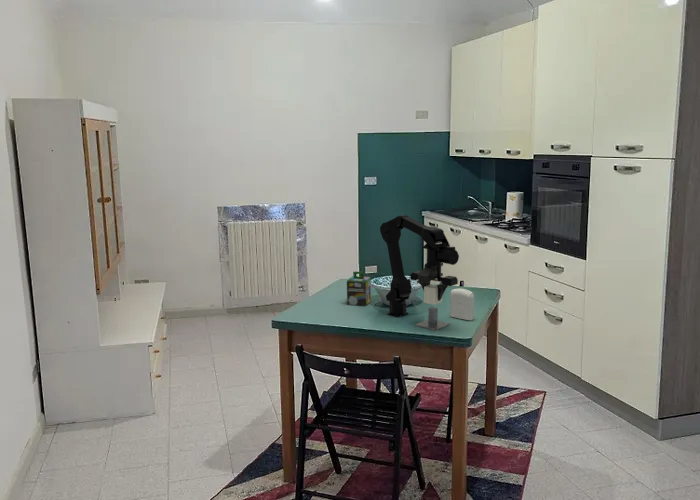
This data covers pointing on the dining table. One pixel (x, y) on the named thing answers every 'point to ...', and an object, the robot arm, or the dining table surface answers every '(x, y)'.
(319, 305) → the dining table surface
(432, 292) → the cream rectangular block
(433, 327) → the post
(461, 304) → the photo printer
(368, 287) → the chalk box
